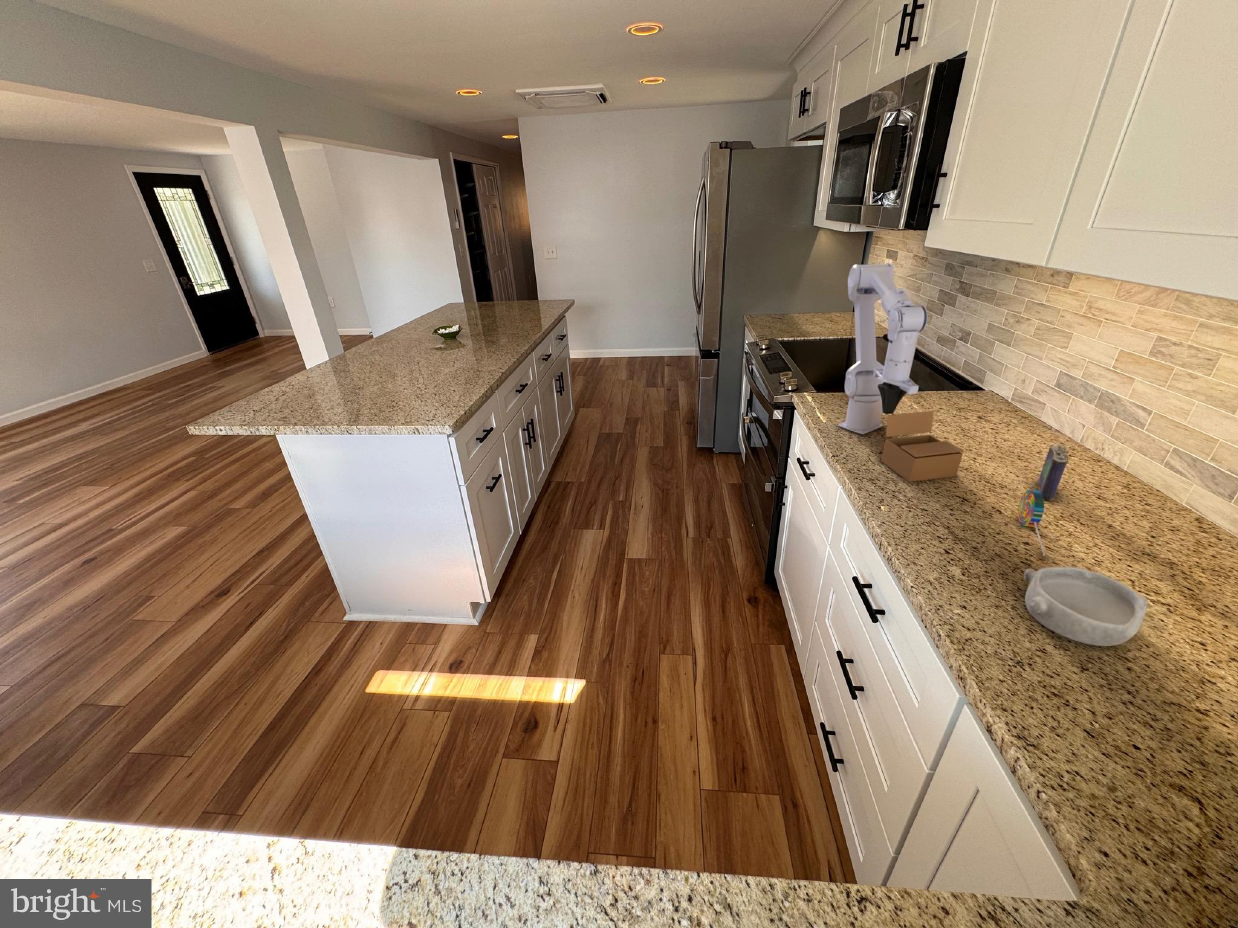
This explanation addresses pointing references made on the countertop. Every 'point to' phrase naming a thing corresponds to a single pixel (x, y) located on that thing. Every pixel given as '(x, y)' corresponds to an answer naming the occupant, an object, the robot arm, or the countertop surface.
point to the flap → (909, 423)
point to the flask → (1052, 471)
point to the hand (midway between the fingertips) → (887, 413)
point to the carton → (921, 457)
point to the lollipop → (1031, 510)
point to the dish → (1084, 605)
